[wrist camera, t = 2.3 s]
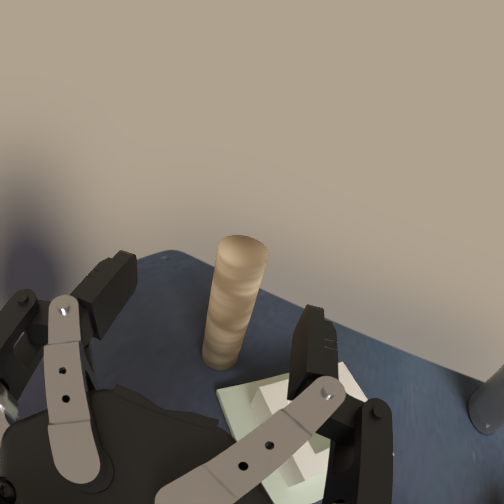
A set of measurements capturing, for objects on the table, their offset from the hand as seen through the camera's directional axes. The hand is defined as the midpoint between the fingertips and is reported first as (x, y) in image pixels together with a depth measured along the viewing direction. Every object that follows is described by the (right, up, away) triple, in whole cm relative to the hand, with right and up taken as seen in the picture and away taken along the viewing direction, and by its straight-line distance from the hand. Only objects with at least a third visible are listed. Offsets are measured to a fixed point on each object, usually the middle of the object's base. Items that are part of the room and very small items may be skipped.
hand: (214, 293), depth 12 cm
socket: (+8, -18, +14) cm, 24 cm away
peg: (-2, -11, +21) cm, 23 cm away
